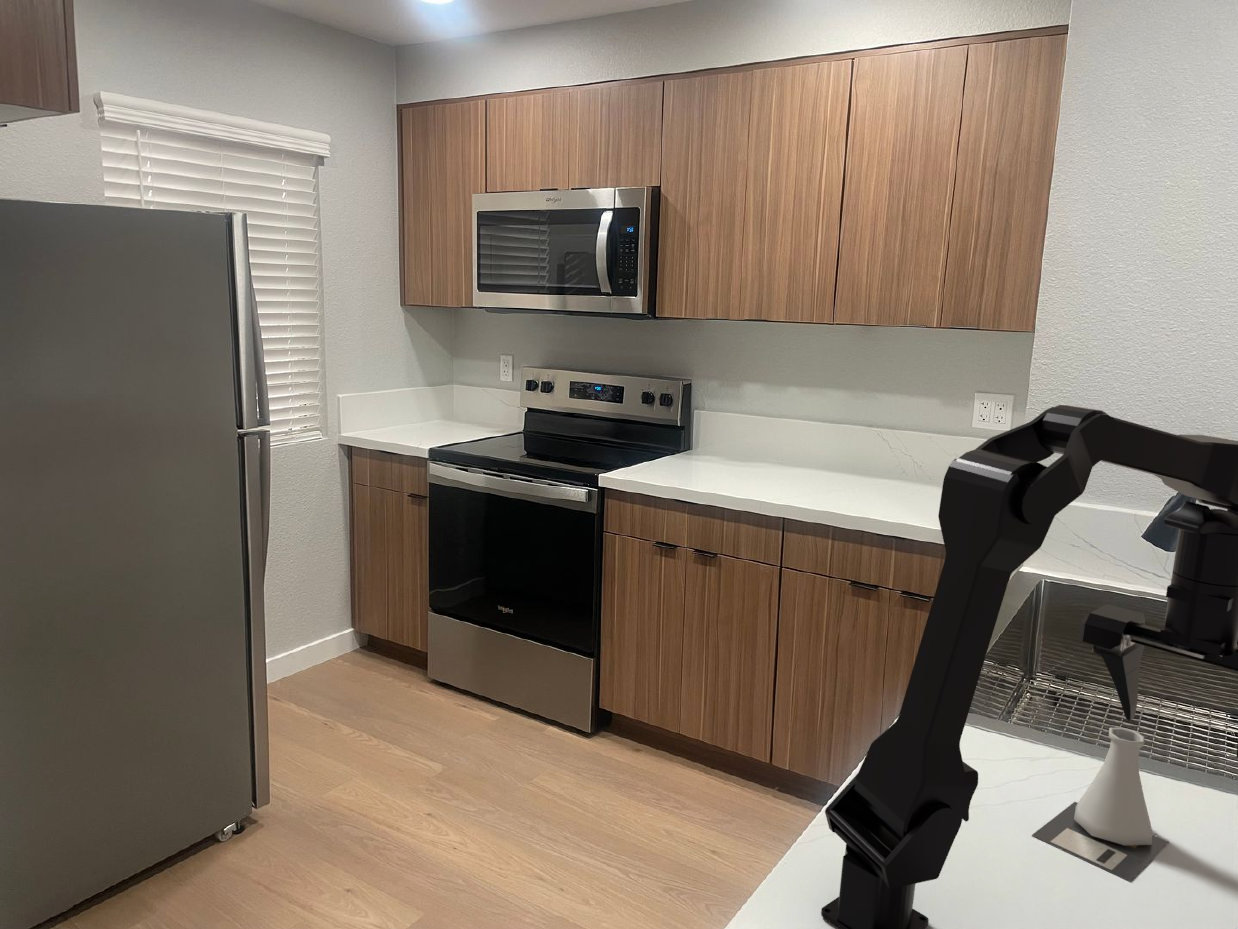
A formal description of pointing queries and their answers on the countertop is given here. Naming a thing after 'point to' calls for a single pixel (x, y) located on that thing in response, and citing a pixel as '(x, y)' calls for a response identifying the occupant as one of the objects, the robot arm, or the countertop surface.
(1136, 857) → the floppy disk
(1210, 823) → the countertop surface
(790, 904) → the countertop surface
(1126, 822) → the flask
